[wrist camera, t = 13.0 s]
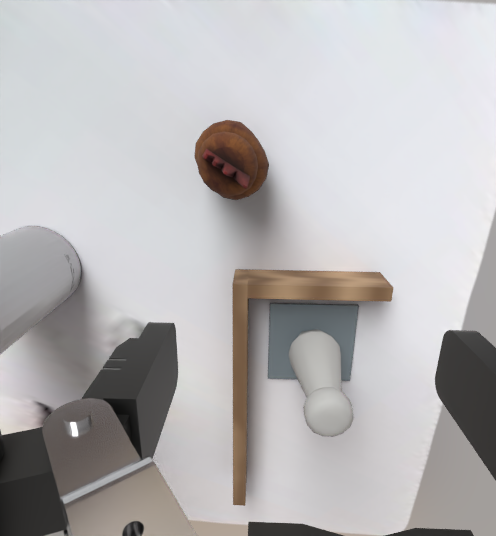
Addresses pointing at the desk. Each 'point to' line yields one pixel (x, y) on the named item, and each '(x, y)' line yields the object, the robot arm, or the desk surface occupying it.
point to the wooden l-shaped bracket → (283, 287)
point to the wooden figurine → (231, 160)
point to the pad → (303, 319)
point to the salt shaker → (321, 382)
